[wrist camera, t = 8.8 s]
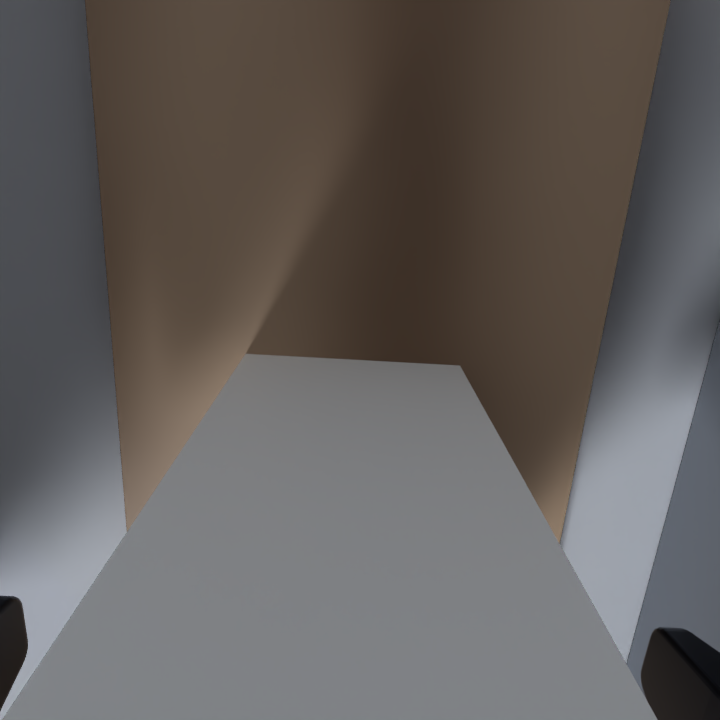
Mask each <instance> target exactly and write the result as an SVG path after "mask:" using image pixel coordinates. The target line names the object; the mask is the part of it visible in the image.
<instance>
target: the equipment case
mask: <svg viewBox="0 0 720 720" xmlns="http://www.w3.org/2000/svg"><path fill="white" fill-rule="evenodd" d="M658 627H673V628H683V629H686V630H688V631H690V632H691V633H693V634H694V635H696V636H697V637H698V638H700V639H701V640H703V641H704V642H706V643H707V644H708V645H710V646H711V647H713V648H714V649H716V650H717V651H718V652H720V321H719V324H718V328H717V332H716V336H715V339H714V343H713V347H712V350H711V354H710V358H709V361H708V365H707V369H706V373H705V376H704V380H703V384H702V387H701V391H700V395H699V398H698V402H697V406H696V410H695V413H694V417H693V421H692V424H691V428H690V432H689V436H688V439H687V443H686V447H685V450H684V454H683V458H682V461H681V465H680V469H679V473H678V476H677V480H676V484H675V487H674V491H673V495H672V498H671V502H670V506H669V510H668V513H667V517H666V521H665V524H664V528H663V532H662V536H661V539H660V543H659V547H658V550H657V554H656V558H655V561H654V565H653V569H652V573H651V576H650V580H649V584H648V587H647V591H646V595H645V598H644V602H643V606H642V610H641V613H640V617H639V621H638V624H637V628H636V632H635V636H634V639H633V643H632V647H631V650H630V654H629V658H628V661H627V666H628V668H629V669H630V671H631V673H632V675H633V677H634V678H635V680H636V682H637V684H638V686H639V687H640V689H641V691H642V693H643V695H644V696H645V694H644V691H643V688H642V684H641V668H642V664H643V661H644V657H645V654H646V650H647V647H648V643H649V639H650V636H651V633H652V631H653V630H654V629H655V628H658ZM645 698H646V697H645Z"/></svg>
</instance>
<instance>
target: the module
mask: <svg viewBox="0 0 720 720" xmlns="http://www.w3.org/2000/svg"><path fill="white" fill-rule="evenodd" d="M2 720H657V718H656V716H655V714H654V712H653V711H652V709H651V707H650V705H649V704H648V702H647V700H646V698H645V696H644V695H643V693H642V691H641V689H640V687H639V686H638V684H637V682H636V680H635V678H634V677H633V675H632V673H631V671H630V669H629V668H628V666H627V664H626V662H625V660H624V659H623V657H622V655H621V653H620V652H619V650H618V648H617V646H616V644H615V643H614V641H613V639H612V637H611V635H610V634H609V632H608V630H607V628H606V626H605V625H604V623H603V621H602V619H601V617H600V616H599V614H598V612H597V610H596V609H595V607H594V605H593V603H592V601H591V600H590V598H589V596H588V594H587V592H586V591H585V589H584V587H583V585H582V583H581V582H580V580H579V578H578V576H577V574H576V573H575V571H574V569H573V567H572V565H571V564H570V562H569V560H568V558H567V557H566V555H565V553H564V551H563V549H562V548H561V546H560V544H559V542H558V540H557V539H556V537H555V535H554V533H553V531H552V530H551V528H550V526H549V524H548V522H547V521H546V519H545V517H544V515H543V514H542V512H541V510H540V508H539V506H538V505H537V503H536V501H535V499H534V497H533V496H532V494H531V492H530V490H529V488H528V487H527V485H526V483H525V481H524V479H523V478H522V476H521V474H520V472H519V470H518V469H517V467H516V465H515V463H514V462H513V460H512V458H511V456H510V454H509V453H508V451H507V449H506V447H505V445H504V444H503V442H502V440H501V438H500V436H499V435H498V433H497V431H496V429H495V427H494V426H493V424H492V422H491V420H490V419H489V417H488V415H487V413H486V411H485V410H484V408H483V406H482V404H481V402H480V401H479V399H478V397H477V395H476V393H475V392H474V390H473V388H472V386H471V384H470V383H469V381H468V379H467V377H466V375H465V374H464V372H463V370H462V368H461V367H460V365H442V364H423V363H405V362H387V361H369V360H350V359H332V358H314V357H296V356H278V355H259V354H245V355H244V357H243V358H242V360H241V361H240V363H239V364H238V366H237V367H236V369H235V370H234V372H233V373H232V375H231V376H230V378H229V379H228V381H227V382H226V384H225V385H224V387H223V388H222V390H221V391H220V393H219V394H218V396H217V398H216V399H215V401H214V402H213V404H212V405H211V407H210V408H209V410H208V411H207V413H206V414H205V416H204V417H203V419H202V420H201V422H200V423H199V425H198V426H197V428H196V429H195V431H194V432H193V434H192V435H191V437H190V438H189V440H188V441H187V443H186V444H185V446H184V447H183V449H182V450H181V452H180V453H179V455H178V456H177V458H176V459H175V461H174V462H173V464H172V465H171V467H170V468H169V470H168V471H167V473H166V474H165V476H164V477H163V479H162V480H161V482H160V483H159V485H158V486H157V488H156V489H155V491H154V492H153V494H152V495H151V497H150V498H149V500H148V501H147V503H146V504H145V506H144V507H143V509H142V510H141V512H140V513H139V515H138V516H137V518H136V519H135V521H134V522H133V524H132V525H131V527H130V528H129V530H128V531H127V533H126V534H125V536H124V537H123V539H122V540H121V542H120V543H119V545H118V546H117V548H116V549H115V551H114V552H113V554H112V555H111V557H110V558H109V560H108V561H107V563H106V564H105V566H104V567H103V569H102V570H101V572H100V573H99V575H98V576H97V578H96V579H95V581H94V583H93V584H92V586H91V587H90V589H89V590H88V592H87V593H86V595H85V596H84V598H83V599H82V601H81V602H80V604H79V605H78V607H77V608H76V610H75V611H74V613H73V614H72V616H71V617H70V619H69V620H68V622H67V623H66V625H65V626H64V628H63V629H62V631H61V632H60V634H59V635H58V637H57V638H56V640H55V641H54V643H53V644H52V646H51V647H50V649H49V650H48V652H47V653H46V655H45V656H44V658H43V659H42V661H41V662H40V664H39V665H38V667H37V668H36V670H35V671H34V673H33V674H32V676H31V677H30V679H29V680H28V682H27V683H26V685H25V686H24V688H23V689H22V691H21V692H20V694H19V695H18V697H17V698H16V700H15V701H14V703H13V704H12V706H11V707H10V709H9V710H8V712H7V713H6V715H5V716H4V718H3V719H2Z"/></svg>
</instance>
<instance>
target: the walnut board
mask: <svg viewBox="0 0 720 720" xmlns="http://www.w3.org/2000/svg"><path fill="white" fill-rule="evenodd" d="M670 1H671V0H85V7H86V20H87V33H88V45H89V58H90V71H91V83H92V96H93V109H94V121H95V134H96V147H97V159H98V172H99V185H100V197H101V210H102V223H103V235H104V248H105V261H106V274H107V286H108V299H109V312H110V324H111V337H112V350H113V362H114V375H115V388H116V400H117V413H118V426H119V438H120V451H121V464H122V476H123V489H124V502H125V514H126V527H127V531H128V530H129V528H130V527H131V525H132V524H133V522H134V521H135V519H136V518H137V516H138V515H139V513H140V512H141V510H142V509H143V507H144V506H145V504H146V503H147V501H148V500H149V498H150V497H151V495H152V494H153V492H154V491H155V489H156V488H157V486H158V485H159V483H160V482H161V480H162V479H163V477H164V476H165V474H166V473H167V471H168V470H169V468H170V467H171V465H172V464H173V462H174V461H175V459H176V458H177V456H178V455H179V453H180V452H181V450H182V449H183V447H184V446H185V444H186V443H187V441H188V440H189V438H190V437H191V435H192V434H193V432H194V431H195V429H196V428H197V426H198V425H199V423H200V422H201V420H202V419H203V417H204V416H205V414H206V413H207V411H208V410H209V408H210V407H211V405H212V404H213V402H214V401H215V399H216V398H217V396H218V394H219V393H220V391H221V390H222V388H223V387H224V385H225V384H226V382H227V381H228V379H229V378H230V376H231V375H232V373H233V372H234V370H235V369H236V367H237V366H238V364H239V363H240V361H241V360H242V358H243V357H244V355H245V354H259V355H278V356H296V357H314V358H332V359H350V360H369V361H387V362H405V363H423V364H442V365H460V367H461V368H462V370H463V372H464V374H465V375H466V377H467V379H468V381H469V383H470V384H471V386H472V388H473V390H474V392H475V393H476V395H477V397H478V399H479V401H480V402H481V404H482V406H483V408H484V410H485V411H486V413H487V415H488V417H489V419H490V420H491V422H492V424H493V426H494V427H495V429H496V431H497V433H498V435H499V436H500V438H501V440H502V442H503V444H504V445H505V447H506V449H507V451H508V453H509V454H510V456H511V458H512V460H513V462H514V463H515V465H516V467H517V469H518V470H519V472H520V474H521V476H522V478H523V479H524V481H525V483H526V485H527V487H528V488H529V490H530V492H531V494H532V496H533V497H534V499H535V501H536V503H537V505H538V506H539V508H540V510H541V512H542V514H543V515H544V517H545V519H546V521H547V522H548V524H549V526H550V528H551V530H552V531H553V533H554V535H555V537H556V539H557V540H558V542H559V544H560V539H561V534H562V529H563V524H564V519H565V515H566V510H567V505H568V500H569V495H570V490H571V485H572V480H573V475H574V471H575V466H576V461H577V456H578V451H579V446H580V441H581V436H582V431H583V426H584V422H585V417H586V412H587V407H588V402H589V397H590V392H591V387H592V382H593V378H594V373H595V368H596V363H597V358H598V353H599V348H600V343H601V338H602V334H603V329H604V324H605V319H606V314H607V309H608V304H609V299H610V294H611V290H612V285H613V280H614V275H615V270H616V265H617V260H618V255H619V250H620V246H621V241H622V236H623V231H624V226H625V221H626V216H627V211H628V206H629V202H630V197H631V192H632V187H633V182H634V177H635V172H636V167H637V162H638V158H639V153H640V148H641V143H642V138H643V133H644V128H645V123H646V118H647V114H648V109H649V104H650V99H651V94H652V89H653V84H654V79H655V74H656V70H657V65H658V60H659V55H660V50H661V45H662V40H663V35H664V30H665V26H666V21H667V16H668V11H669V6H670Z"/></svg>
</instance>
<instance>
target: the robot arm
mask: <svg viewBox="0 0 720 720" xmlns="http://www.w3.org/2000/svg"><path fill="white" fill-rule="evenodd" d="M27 649H28V639H27V632H26V626H25V620H24V613H23V607H22V603H21V601H20V600H19V599H18V598H17V597H14V596H0V711H1V708H2V706H3V704H4V702H5V700H6V698H7V696H8V694H9V692H10V690H11V688H12V686H13V683H14V681H15V679H16V677H17V675H18V673H19V671H20V669H21V667H22V665H23V662H24V660H25V657H26V654H27ZM641 684H642V688H643V691H644V694H645V697H646V700H647V702H648V704H649V705H650V707H651V709H652V711H653V712H654V714H655V716H656V718H657V720H720V652H718V651H717V650H716V649H714V648H713V647H711V646H710V645H708V644H707V643H706V642H704V641H703V640H701V639H700V638H698V637H697V636H696V635H694V634H693V633H691V632H690V631H688V630H686V629H683V628H673V627H658V628H655V629H654V630H653V631H652V633H651V636H650V639H649V643H648V647H647V650H646V654H645V657H644V661H643V664H642V668H641Z"/></svg>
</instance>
